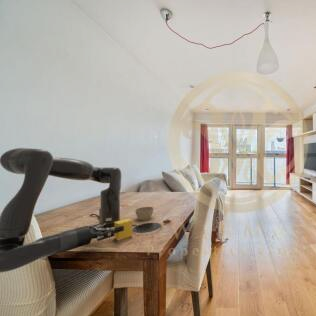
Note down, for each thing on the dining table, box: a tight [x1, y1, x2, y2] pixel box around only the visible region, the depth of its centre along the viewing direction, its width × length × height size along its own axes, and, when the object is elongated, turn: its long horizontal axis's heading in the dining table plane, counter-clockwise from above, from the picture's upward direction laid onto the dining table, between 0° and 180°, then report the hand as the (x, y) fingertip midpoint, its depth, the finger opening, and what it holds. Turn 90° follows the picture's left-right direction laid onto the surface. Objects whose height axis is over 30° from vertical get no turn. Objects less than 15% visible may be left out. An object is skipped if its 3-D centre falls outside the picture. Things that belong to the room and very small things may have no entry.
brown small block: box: [162, 218, 172, 224], centre depth 106 cm, size 3×3×2 cm
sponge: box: [113, 218, 133, 242], centre depth 86 cm, size 4×6×9 cm
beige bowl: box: [135, 206, 154, 221], centre depth 112 cm, size 10×10×7 cm
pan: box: [132, 222, 162, 234], centre depth 99 cm, size 21×14×2 cm
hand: (119, 225), depth 85 cm, fingers open, 8 cm apart
